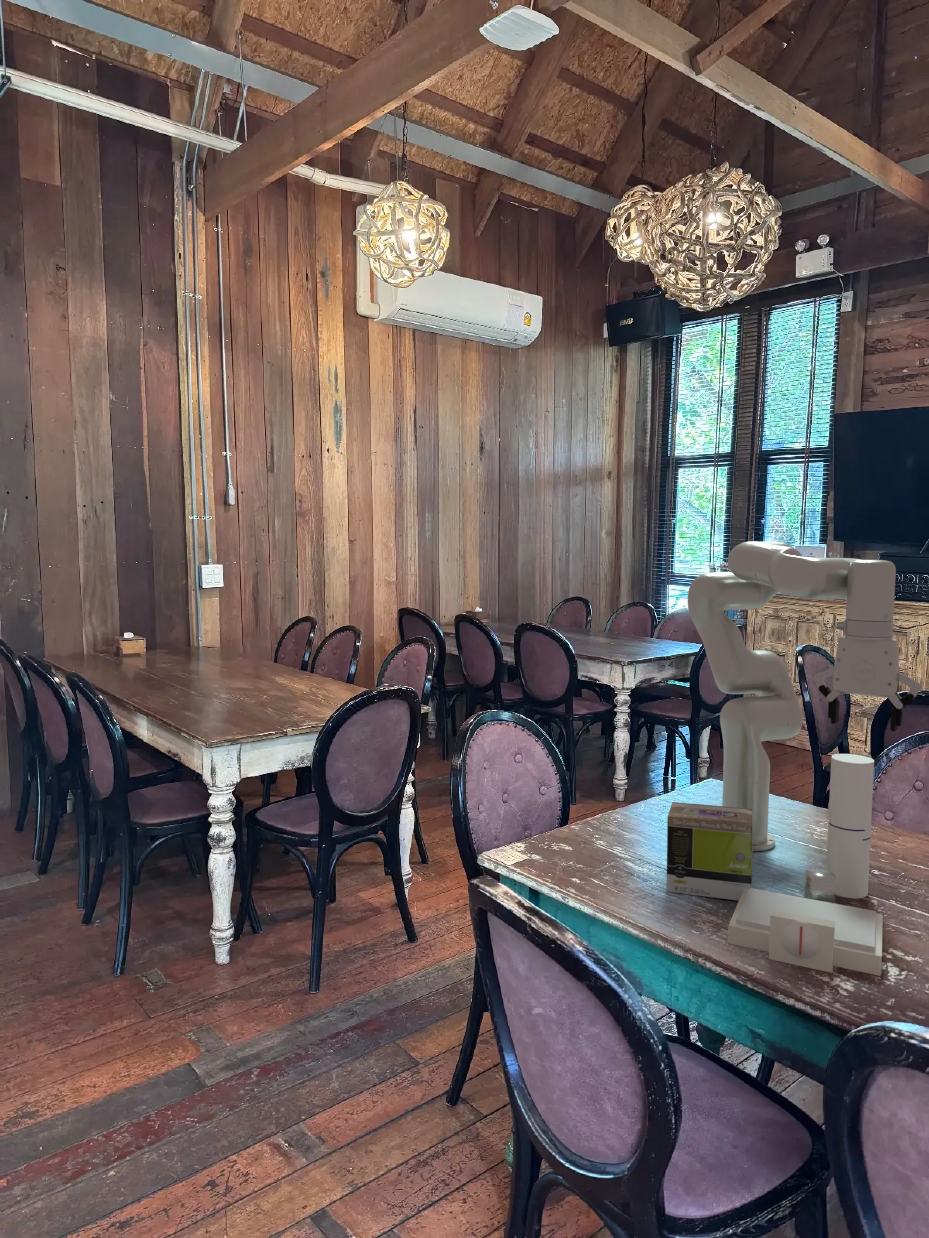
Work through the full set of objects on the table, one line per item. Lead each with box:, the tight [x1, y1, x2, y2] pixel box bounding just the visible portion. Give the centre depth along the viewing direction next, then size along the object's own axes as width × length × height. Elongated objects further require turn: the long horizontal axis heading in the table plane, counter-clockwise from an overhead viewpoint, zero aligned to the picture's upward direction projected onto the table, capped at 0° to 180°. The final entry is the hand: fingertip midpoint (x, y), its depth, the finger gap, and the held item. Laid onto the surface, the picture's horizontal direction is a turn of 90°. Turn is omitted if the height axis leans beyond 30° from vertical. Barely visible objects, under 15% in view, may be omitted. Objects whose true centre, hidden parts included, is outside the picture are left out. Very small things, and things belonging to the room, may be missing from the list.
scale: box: [727, 887, 884, 977], centre depth 134 cm, size 22×19×7 cm
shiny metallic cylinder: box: [803, 867, 836, 904], centre depth 147 cm, size 5×5×6 cm
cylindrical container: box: [825, 753, 875, 899], centre depth 153 cm, size 7×7×25 cm
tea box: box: [666, 801, 753, 902], centre depth 154 cm, size 15×10×15 cm
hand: (863, 726), depth 147 cm, fingers open, 9 cm apart
